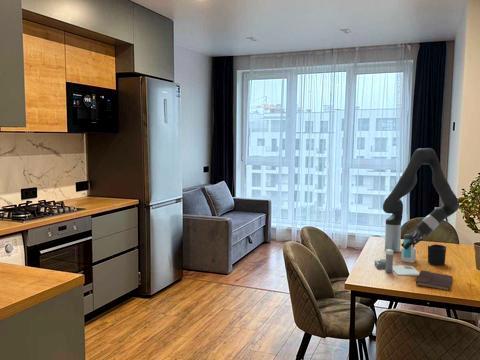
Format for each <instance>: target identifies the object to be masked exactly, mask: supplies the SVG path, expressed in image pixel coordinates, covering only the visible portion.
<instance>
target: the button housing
mask: <svg viewBox="0 0 480 360" xmlns="http://www.w3.org/2000/svg"><path fill="white" fill-rule="evenodd" d="M374 266H375V268H376V269H381V270H382V269H384V270H385V269H386V261H385V263H380V260H374Z"/></svg>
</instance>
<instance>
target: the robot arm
mask: <svg viewBox="0 0 480 360" xmlns="http://www.w3.org/2000/svg"><path fill="white" fill-rule="evenodd" d="M422 165H426V166H427V165H428V166H429V168H431V171H432V177H431V178H432V179H431V181H432V182H431V183H432V185H433V187H434V189H435V191H436V192H437V194H438V195H439V197H440V200H441V201H442V203H443V204H442V205H441V206H440V207H436V208H435V209H433V210H432V211H430V213H429V214H428V215H426V216H425V217H424V218H422V220H421V221H419V222H418V223H417V224H416V225H415V227H416V228H417V229H415V230H411V231H410V232H409V233H408V234H411V235H412V237H411V240H410V241H409V242H408V243H406V244H405V245H404V242H402V243H401V238H402V235H401V231H402V221H403V212H404V204H403V201H402V198H403V197H405V196H406V195H408V194H409V193H411V191H413V189H414V187H415V186H416V184H417V183H418V176H417V175H418V174H417V172H418V170H419V169H420V167H421V166H422ZM459 208H460V202H459V200H458V198H457V195H456V194H455V192H454V191H453V189H452V188H451V185H450V184H449V182H448V181H447V179H446V177H445V174H444V172H443V169H442V165H441V163H440V160H439V157H438V155H437V153H436V151H435V150H434V149H433V148H431V147H426V148H425V147H424V148H423V147H422V148H420V147H419V148H417V149H415V151H414V152H413V154H412V156H411V158H410V160H409V162H408V165H407V166H406V167H405V170H404V171H403V173H402V174H401V175H400V177H399V180H398V181H397V183H396V185H395V187H394V188H393V189H392V191H391V192H390V193H389V194H388V196H387V197H386V199H385V200H384V202H383V204H382V211H383V212H384V213H386V214H391V215H390V216H389V217H387V218H386V219H385V232H384V235H385V236H384V250H385V251H386V249H391V250H393V253H401V246H402V248H405V249H406V250H407V249H408V248H409V247H410V246H411V245H414V246H415V245H417V244H418V243H420V242H421V241H422V240H424V238H423V237H424V236H425V237H427V236H428V237H429V235H430V234H431V233H433V231H434V230H435V229H436V228H438V226H439V225H440V224H441V223H442V222H443V221H444V220H446V219H447V218H449V217H451V215H453V214H455V213H456V212H457V211H458V210H459Z"/></svg>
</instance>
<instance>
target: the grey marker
mask: <svg viewBox="0 0 480 360" xmlns="http://www.w3.org/2000/svg"><path fill="white" fill-rule="evenodd" d="M385 259H386V269H384V270H385V273H386V274H393V272H394V271H393V266H394V252H393V250H391V249H386V250H385Z"/></svg>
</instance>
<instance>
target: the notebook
mask: <svg viewBox="0 0 480 360" xmlns="http://www.w3.org/2000/svg"><path fill="white" fill-rule="evenodd" d="M419 273H420V274H419V276H417V278H416V280H415V285H417V286H421V287H427V288H433V289H438V290H443V291H448V292H449V291H451V287H452V281H453V275H449V274H444V273H438V272H431V271H429V270H423V269H420V271H419Z"/></svg>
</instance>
